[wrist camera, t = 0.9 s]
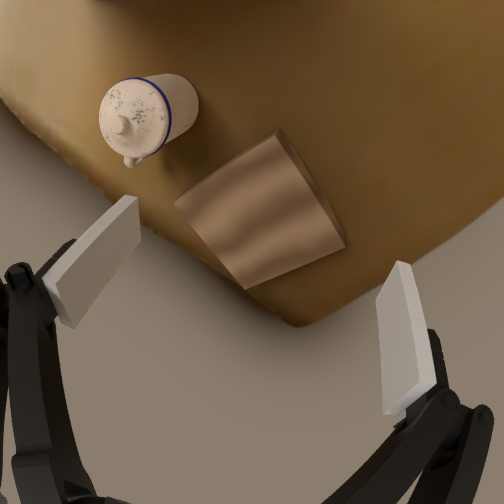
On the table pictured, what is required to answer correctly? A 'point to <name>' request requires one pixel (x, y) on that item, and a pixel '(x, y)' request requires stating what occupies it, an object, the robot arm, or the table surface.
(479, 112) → the table surface
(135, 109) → the teacup with lid
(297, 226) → the wooden square block
